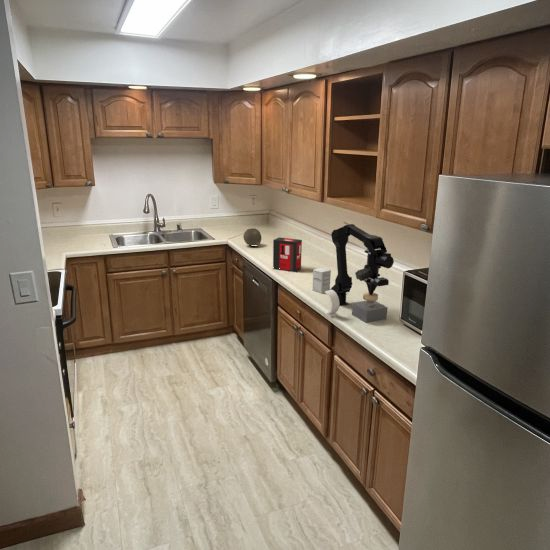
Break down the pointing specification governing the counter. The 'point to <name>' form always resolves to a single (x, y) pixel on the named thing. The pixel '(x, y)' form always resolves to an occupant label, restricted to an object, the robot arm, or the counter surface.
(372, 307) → the gray rectangular block
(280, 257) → the cleaning product box
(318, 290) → the supplement box
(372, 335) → the counter surface
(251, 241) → the spherical smart speaker
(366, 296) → the tan rounded lump
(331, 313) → the headphone stand
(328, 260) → the counter surface
